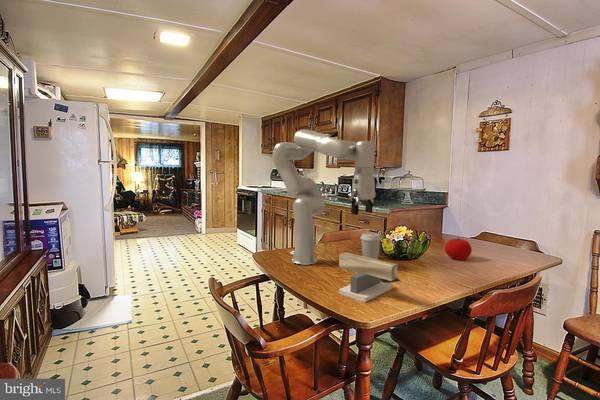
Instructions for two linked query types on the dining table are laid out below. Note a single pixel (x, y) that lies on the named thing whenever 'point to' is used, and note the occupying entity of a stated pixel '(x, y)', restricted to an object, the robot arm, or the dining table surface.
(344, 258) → the beam
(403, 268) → the dining table surface
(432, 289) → the dining table surface
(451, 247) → the tomato
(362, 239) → the coffee cup
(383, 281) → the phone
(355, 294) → the ridge stand
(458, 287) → the dining table surface
